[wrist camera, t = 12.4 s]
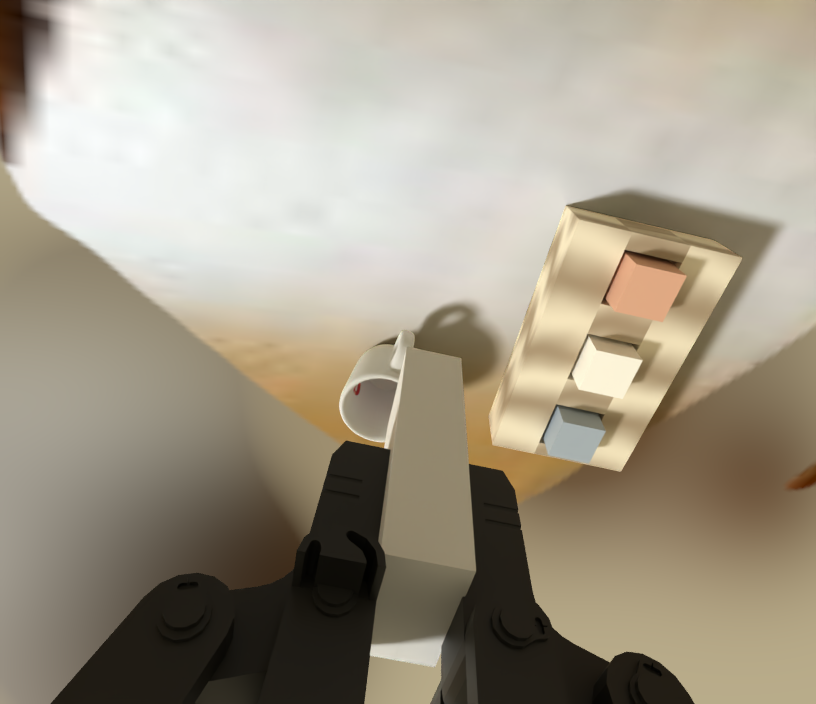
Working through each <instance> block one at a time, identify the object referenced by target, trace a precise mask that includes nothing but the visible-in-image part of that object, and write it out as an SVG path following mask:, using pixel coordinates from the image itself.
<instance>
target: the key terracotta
mask: <svg viewBox="0 0 816 704" xmlns="http://www.w3.org/2000/svg"><path fill="white" fill-rule="evenodd" d="M686 277H687V276H686V275H685V274H684V273H683V272H682V271H680V270H679V269H678V268H677V267H676V266H674V265H673V264H672V263H671V262H669V261H668V260H667V259H663V258H659V257H654V256H650V255H646V254H641V253H637V252H633V251H629V250H624V253H623V255H622V257H621V259H620V262H619V264H618V266H617V268H616V271H615V273H614V275H613V277H612V280H611V282H610V284H609V286H608V289H607V291H606V293H605V295H604V297H605V299H606V300H607V302H608V303H609V304H610V306H611V307H612V308H613V310H614V311H615V312H619V313H624V314H628V315H633V316H637V317H641V318H646V319H650V320H655V321H659V322H663V321H664V319H665V317H666V315H667V313H668V311H669V309H670V307H671V306H672V304H673V302H674V300H675V298H676V296H677V294H678V292H679V290H680V288H681V286H682V285H683V283H684V281H685V279H686Z"/></svg>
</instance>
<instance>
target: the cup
mask: <svg viewBox="0 0 816 704" xmlns="http://www.w3.org/2000/svg"><path fill="white" fill-rule="evenodd" d="M414 343H415V336H414V334H413V333H412V332H410V331H408V330H402V331H401V332H400V334H399V336H398V338H397V341H396V343H395V345H391V344H382V345H377V346H374V347H372V348H370V349H369V350H367V351H366V352H365V353H364V354H363V355H362V356H361V357H360V359H359V360H358V362H357V364H356V366H355V368H354V370H353V372H352V374H351V376H350V378H349V380H348V381H347V383H346V385H345V387H344V389H343V391H342V394H341V397H340V403H339V407H340V413H341V416H342V418H343V420H344V422H345V423H346V425H347V426H348V427H349V428H350V429H351V430H352V431H353V432H354V433H356V434H357V435H359V436H361V437H363V438H365V439H368V440H371V441H375V442H385V440H386V434H387V427H388V422H389V418H390V414H391V410H392V406H393V402H394V397H395V393H396V389H397V385H398V381H399V377H400V372H401V368H402V364H403V360H404V356H405V352H406V348H407V347H412V348H414Z"/></svg>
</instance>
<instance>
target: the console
mask: <svg viewBox="0 0 816 704" xmlns="http://www.w3.org/2000/svg"><path fill="white" fill-rule="evenodd" d="M624 250H629V251H633V252H637V253H641V254H646V255H650V256H654V257H659V258H663V259H667V260H668V261H669V262H671V263H672V264H673V265H674V266H676V267H677V268H678V269H679V270H680V271H682V272H683V273H684V274H685V275H686V276H687V277H686V279H685V281H684V283H683V285H682V286H681V288H680V290H679V292H678V294H677V296H676V298H675V300H674V302H673V304H672V306H671V307H670V309H669V311H668V313H667V315H666V317H665V319H664V321H663V322H659V321H655V320H650V319H646V318H641V317H637V316H633V315H628V314H624V313H619V312H615V311H614V310H613V308H612V307H611V306H610V304H609V303H608V302H607V300H606V299H605V297H604V295H605V293H606V291H607V289H608V286H609V284H610V282H611V280H612V277H613V275H614V273H615V271H616V268H617V266H618V264H619V262H620V259H621V257H622V255H623V253H624ZM742 259H743V258H742V257H741V256H739V255H737V254H736V253H734V252H733V251H731V250H729V249H728V248H726V247H724V246H723V245H721V244H719V243H718V242H716V241H715V240H711V239H707V238H703V237H699V236H694V235H690V234H686V233H682V232H677V231H673V230H669V229H664V228H660V227H656V226H652V225H647V224H643V223H639V222H635V221H630V220H626V219H622V218H618V217H613V216H609V215H605V214H601V213H596V212H592V211H588V210H584V209H579V208H575V207H571V206H565V209H564V212H563V214H562V217H561V220H560V223H559V225H558V228H557V231H556V233H555V236H554V239H553V242H552V244H551V247H550V250H549V253H548V255H547V258H546V261H545V263H544V266H543V269H542V272H541V274H540V277H539V280H538V283H537V285H536V288H535V291H534V294H533V296H532V299H531V302H530V304H529V307H528V310H527V313H526V315H525V318H524V321H523V324H522V326H521V329H520V332H519V334H518V337H517V340H516V343H515V345H514V348H513V351H512V354H511V356H510V359H509V362H508V365H507V367H506V370H505V373H504V375H503V378H502V381H501V384H500V386H499V389H498V392H497V395H496V397H495V400H494V403H493V405H492V408H491V411H490V414H489V423H490V430H491V437H492V445H495V446H500V447H505V448H509V449H514V450H519V451H524V452H529V453H534V454H538V455H543V456H548V457H553V458H558V459H563V460H568V461H572V462H577V463H582V464H587V465H592V466H597V467H601V468H606V469H611V470H616V471H621V470H622V469H623V467H624V465H625V463H626V462H627V460H628V458H629V456H630V455H631V453H632V451H633V449H634V447H635V446H636V444H637V442H638V441H639V439H640V437H641V435H642V434H643V432H644V430H645V428H646V427H647V425H648V423H649V421H650V420H651V418H652V416H653V414H654V413H655V411H656V409H657V407H658V406H659V404H660V402H661V400H662V399H663V397H664V395H665V393H666V392H667V390H668V388H669V386H670V385H671V383H672V381H673V379H674V378H675V376H676V374H677V372H678V371H679V369H680V367H681V365H682V364H683V362H684V360H685V358H686V357H687V355H688V353H689V351H690V350H691V348H692V346H693V344H694V343H695V341H696V339H697V337H698V336H699V334H700V332H701V330H702V329H703V327H704V325H705V323H706V322H707V320H708V318H709V316H710V315H711V313H712V311H713V309H714V308H715V306H716V304H717V302H718V301H719V299H720V297H721V295H722V294H723V292H724V290H725V288H726V287H727V285H728V283H729V281H730V280H731V278H732V276H733V274H734V273H735V271H736V269H737V267H738V266H739V264H740V262H741V260H742ZM587 334H592V335H596V336H601V337H605V338H610V339H614V340H619V341H623V342H628V343H631V344H632V346H633V347H634V349H635V350H636V351H637V353H638V354H639V356H640V357H641V359H642V360H643V361H642V363H641V365H640V367H639V369H638V371H637V373H636V374H635V376H634V378H633V380H632V382H631V384H630V386H629V388H628V390H627V392H626V394H625V395H624V397H623V399H620V398H615V397H611V396H606V395H602V394H597V393H592V392H588V391H583V390H579V389H578V387H577V385H576V382H575V380H574V378H573V376H572V373H571V370H572V367H573V365H574V363H575V361H576V358H577V356H578V354H579V352H580V349H581V347H582V345H583V343H584V340H585V338H586V336H587ZM556 404H558V405H563V406H567V407H572V408H577V409H581V410H586V411H591V412H596V413H598V415H599V417H600V419H601V421H602V424H603V426H604V428H605V430H606V432H605V434H604V436H603V438H602V440H601V441H600V443H599V445H598V447H597V449H596V451H595V453H594V455H593V457H592V459H591V461H590V462H589V464H588V463H583V462H578V461H574V460H569V459H564V458H559V457H554V456H549V455H548V453H547V449H546V446H545V442H544V439H543V433H544V430H545V428H546V426H547V424H548V421H549V419H550V417H551V415H552V412H553V410H554V408H555V406H556Z"/></svg>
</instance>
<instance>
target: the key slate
mask: <svg viewBox="0 0 816 704" xmlns="http://www.w3.org/2000/svg"><path fill="white" fill-rule="evenodd" d="M605 432H606V430H605V428H604V426H603V424H602V421H601V419H600V417H599V415H598V413H596V412H591V411H586V410H581V409H577V408H572V407H567V406H563V405H558V404H556V406H555V408H554V410H553V412H552V415H551V417H550V419H549V421H548V424H547V426H546V428H545V430H544V433H543V439H544V442H545V446H546V449H547V453H548V455H549V456H554V457H559V458H564V459H569V460H574V461H578V462H583V463H588V464H589V462H590V461H591V459H592V457H593V455H594V453H595V451H596V449H597V447H598V445H599V443H600V441H601V440H602V438H603V436H604V434H605Z"/></svg>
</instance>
